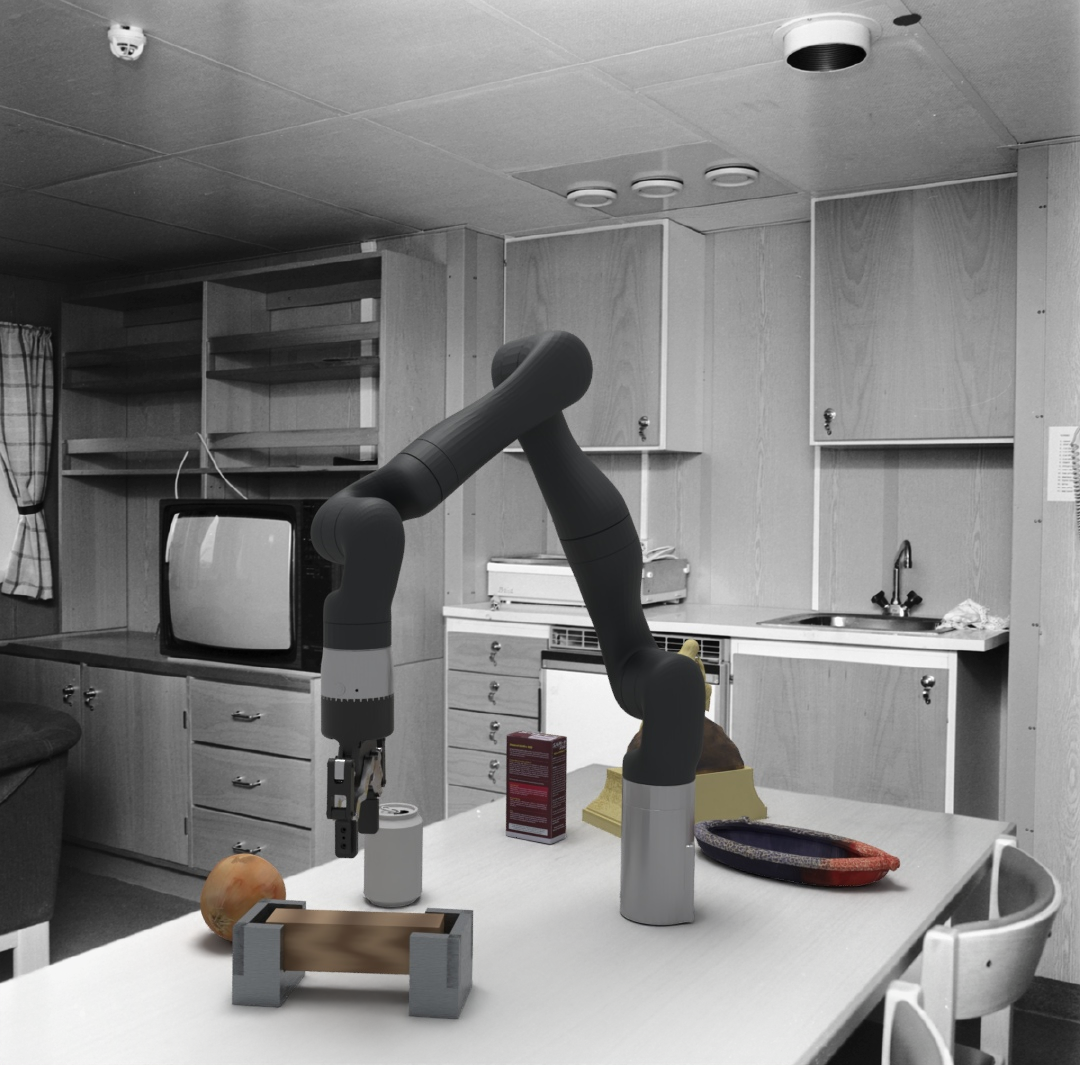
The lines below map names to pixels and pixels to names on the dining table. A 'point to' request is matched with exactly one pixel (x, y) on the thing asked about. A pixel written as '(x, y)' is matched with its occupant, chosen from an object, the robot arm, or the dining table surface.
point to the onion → (238, 891)
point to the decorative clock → (717, 782)
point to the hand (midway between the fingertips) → (357, 844)
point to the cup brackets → (263, 982)
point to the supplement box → (536, 786)
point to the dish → (793, 853)
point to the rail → (351, 939)
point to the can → (394, 857)
